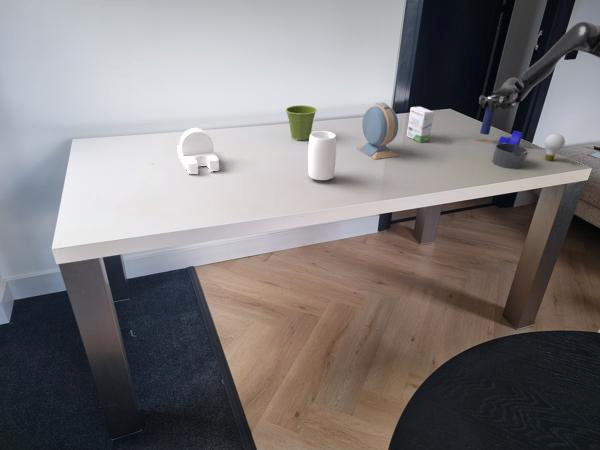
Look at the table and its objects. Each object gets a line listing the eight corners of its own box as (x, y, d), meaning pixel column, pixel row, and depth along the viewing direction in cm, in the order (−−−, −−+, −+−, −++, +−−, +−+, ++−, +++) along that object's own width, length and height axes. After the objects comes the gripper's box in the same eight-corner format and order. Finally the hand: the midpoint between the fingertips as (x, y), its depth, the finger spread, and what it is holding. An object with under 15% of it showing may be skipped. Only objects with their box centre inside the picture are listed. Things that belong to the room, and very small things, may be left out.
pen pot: (522, 162, 150) (527, 145, 147) (523, 172, 142) (528, 155, 139) (492, 157, 154) (496, 141, 151) (491, 167, 146) (495, 150, 143)
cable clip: (506, 144, 166) (510, 129, 163) (518, 147, 163) (522, 132, 160) (492, 151, 159) (496, 136, 156) (504, 155, 156) (508, 139, 153)
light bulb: (548, 157, 155) (556, 130, 150) (561, 163, 150) (571, 135, 145) (535, 159, 153) (544, 132, 148) (548, 165, 148) (558, 137, 143)
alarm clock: (399, 157, 152) (406, 107, 143) (376, 160, 149) (382, 109, 140) (377, 144, 163) (382, 97, 155) (355, 147, 160) (359, 99, 151)
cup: (316, 171, 140) (318, 128, 132) (339, 177, 136) (342, 133, 129) (302, 179, 133) (303, 135, 126) (325, 186, 130) (328, 141, 122)
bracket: (177, 155, 149) (173, 123, 144) (206, 151, 153) (203, 120, 147) (188, 175, 134) (184, 140, 129) (220, 171, 138) (217, 137, 132)
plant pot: (290, 132, 174) (290, 104, 168) (318, 135, 171) (320, 106, 166) (281, 141, 164) (281, 112, 159) (311, 144, 162) (312, 115, 156)
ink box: (429, 141, 168) (435, 111, 162) (419, 142, 166) (424, 112, 160) (415, 134, 174) (420, 105, 168) (405, 136, 172) (410, 107, 166)
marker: (490, 133, 166) (499, 99, 159) (486, 135, 164) (494, 100, 157) (482, 131, 168) (491, 97, 161) (478, 132, 166) (486, 99, 159)
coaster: (493, 140, 170) (494, 139, 169) (493, 147, 163) (493, 146, 163) (472, 138, 172) (472, 137, 172) (471, 144, 166) (471, 143, 166)
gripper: (487, 85, 172) (472, 92, 160) (524, 90, 164) (511, 99, 153) (482, 103, 176) (468, 112, 164) (519, 110, 168) (506, 119, 156)
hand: (489, 106), depth 158 cm, fingers closed on marker, 3 cm apart
